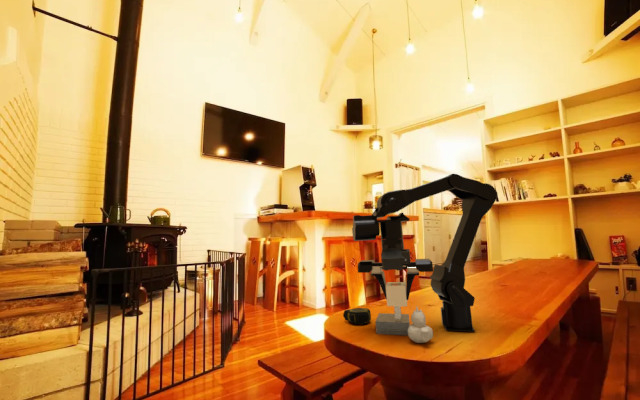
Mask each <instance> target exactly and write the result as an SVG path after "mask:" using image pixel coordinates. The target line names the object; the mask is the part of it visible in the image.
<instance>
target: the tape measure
mask: <svg viewBox="0 0 640 400" xmlns="http://www.w3.org/2000/svg"><path fill="white" fill-rule="evenodd" d="M342 315H343V316H342V317H343V319H344V320H345V321H348V322H349V323H352V324H354V325H355V324H356V325H357V324H359V325H363V324H366V323H369V322H370V321H371V320H372V314H371V310H370V308H368V307H367V308H365V307H355V308H351V309H345V310H344V311H343V313H342Z"/></svg>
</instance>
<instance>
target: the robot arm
mask: <svg viewBox="0 0 640 400" xmlns="http://www.w3.org/2000/svg"><path fill="white" fill-rule="evenodd" d="M447 191H448V192H449V193H451V194H452V195H453V196H454V197H456V198H457V199H459V200H462V201H461V211H462V216H461V218H460V220H459V223H458V226H457V229H456V232H455V234H454V237H453V239H452V242H451V244H450V247H449V250H448V253H447V254H446V255H447V256H446V258H445V260H444V262H443V263H442V264H441V265H439V264H433V262H432V260H431V259H430V258H415V261H411V252H410V248H406V249H405V245H404V244H405V243H404V233H403V224H402V223H403V222H404V223H405V222H409V221H410V218H409V217H408V216H406V215H405V214H404V213H403V212H400V213H399V214H398V215H392V214H395V213H397V212H399V211H401V210H403V209H405V208H407V207H408V206H409V205H411V204H413V203H415V202H418V201H420V200H423V199H426V198H429V197H432V196H435V195H438V194H441V193H444V192H447ZM497 198H498V192H497V189H496V188H495V187H494V186H493V185H492V184H490V183H486V182H484V183H483V182H481V181H479V180H475V179H472V178H469V177H464V176H462V175H459V174H457V173H450V174H448V175H446V176H445V177H442V178H441V177H440V178H439V179H436V180H433V181H430V182H427V183H424V184H422V185H418V186H416V187H412V188H409V189H397V190H391V191H387V192H385V193H383V194H382V195H380V196H379V197H378V198H377V201H376V208H375V210H374V211H373V212H372V214H371V215H370V214H369V215H360V214H356V215H353V216H352V227H351V229H352V230H351V234H352V238H353V239H352V240H353V241H355V242H357V241H358V242H359V241H360V242H361V241H362V242H363V241H375V240H376V239H377V237H379V236H380V239H381V240H380V241H381V242H380V243H381V253H380V259H381V260H380V261H381V262H375V260H374V259H370V260H369V259H368V260H367V259H365V260H364V259H363V260H360V261H359V262H358V263H357V273H359V274H360V273H361V274H363V273H366V274H367V273H370V276H372V277H374V278H376V280H377V281H378V283H379V286H380V287H381V290H382V292H383V295H384V298H385V300H386V301H387V297H386V284H387V282H386V281H387V280H386V276H385V271H387V272H388V271H392V270H394V271H395V270H396V271H402V270H407V271H406V298H407V301H409V298H410V294H411V288H412V285H413V281H414V280H415V277H416V276H420V273H431V272H432V274H431V275H430V276H429V279H430V287H431V289H432V291H433V292H434V293H435V294H437V296H438V299H439V300H440V301H441V302H442V306H441V307H440V314H441V315H440V316H441V317H440V318H441V324H442V326H443V327H444V329H445V331H448V332H449V331H450V332H469V333H474V332H475V330H476V329H475V328H474V326H473V320H472V319H473V318H472V310H471V309H472V308H471V307H474V303H475V299H476V297H475V296H473V295H472V293H471V292H469V291H468V290H467V289H466V288H465V285H466V274H465V266H466V263H467V260H468V257H469V256H470V255H469V254H470V253H471V250H472V247H473V245H474V244H473V243H474V241H475V238H476V236H477V232H478V229H479V227H480V225H481V222H482V219H483V218H484V216H486V214H488V212H489V211H490V210H491V209H492V208H493V206H494V204H495V202H496V201H497ZM386 216H387V217H386ZM384 217H386V219H382V220H381V218H384ZM378 219H380V220H378ZM433 265H434V266H433Z"/></svg>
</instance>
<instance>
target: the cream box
mask: <svg viewBox="0 0 640 400" xmlns="http://www.w3.org/2000/svg"><path fill="white" fill-rule="evenodd" d="M406 286H407V281H405V282H404V281H403V282H402V281H397V282H395V281H394V282H393V281H387V282H386V297H387V300H386V307H394V306H401V307H408V300H407V298H406Z"/></svg>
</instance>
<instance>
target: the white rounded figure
mask: <svg viewBox="0 0 640 400" xmlns="http://www.w3.org/2000/svg"><path fill="white" fill-rule="evenodd" d="M410 317H411V318H410V319H411V320H410V321H411V324H410V326H409V328H408V336H407V337H409V339H410V340H411V341H413V342H414V343H418V344H425V343H428V342H429V341H430V340H431V339H433V337H434V330H433V329H432V328H431V326H429V325H426V322H427V321H426V315H425V313H424V312H423V310H422V309H420V310H419V308H418V306H417V305H416V306H415V309H414V310H413V312H412V314H411V316H410Z"/></svg>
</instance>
